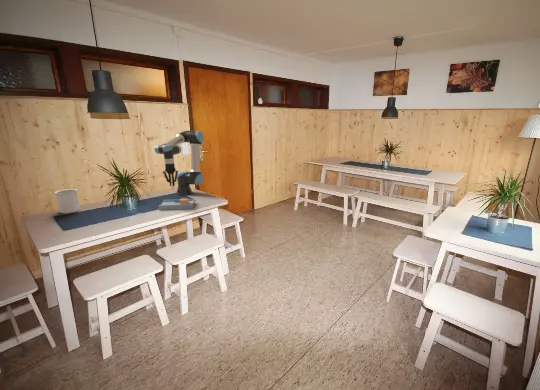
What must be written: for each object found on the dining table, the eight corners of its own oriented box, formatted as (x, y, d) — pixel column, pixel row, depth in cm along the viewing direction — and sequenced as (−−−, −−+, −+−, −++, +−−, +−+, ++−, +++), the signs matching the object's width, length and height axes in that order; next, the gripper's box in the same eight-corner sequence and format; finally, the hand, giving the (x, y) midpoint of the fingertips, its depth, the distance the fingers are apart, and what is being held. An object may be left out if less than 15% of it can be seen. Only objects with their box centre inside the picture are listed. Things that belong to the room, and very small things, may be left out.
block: (181, 202, 236) (181, 198, 235) (188, 202, 237) (187, 198, 235) (180, 204, 230) (179, 200, 229) (187, 204, 231) (186, 200, 230)
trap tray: (163, 204, 240) (163, 199, 239) (195, 203, 243) (194, 198, 242) (158, 209, 224) (158, 205, 223) (192, 208, 228) (191, 204, 227)
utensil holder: (71, 207, 230) (67, 188, 225) (85, 208, 227) (81, 189, 222) (55, 213, 216) (50, 192, 211) (69, 214, 213) (65, 193, 208)
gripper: (160, 164, 218) (164, 191, 225) (176, 163, 219) (179, 190, 227) (162, 162, 225) (166, 188, 232) (178, 162, 226) (181, 188, 234)
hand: (172, 189), depth 230 cm, fingers closed
